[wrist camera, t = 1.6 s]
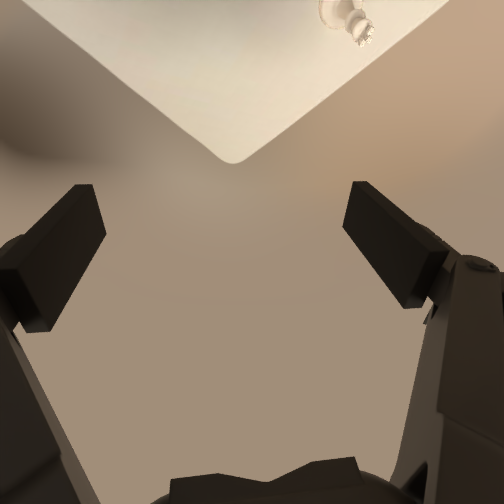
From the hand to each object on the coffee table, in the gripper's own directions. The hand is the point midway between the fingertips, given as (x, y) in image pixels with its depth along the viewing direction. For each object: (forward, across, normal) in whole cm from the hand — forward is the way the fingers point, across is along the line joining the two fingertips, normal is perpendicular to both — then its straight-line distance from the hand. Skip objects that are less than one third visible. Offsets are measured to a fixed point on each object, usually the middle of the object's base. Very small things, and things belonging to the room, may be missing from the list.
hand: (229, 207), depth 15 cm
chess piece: (+28, +14, +12) cm, 34 cm away
